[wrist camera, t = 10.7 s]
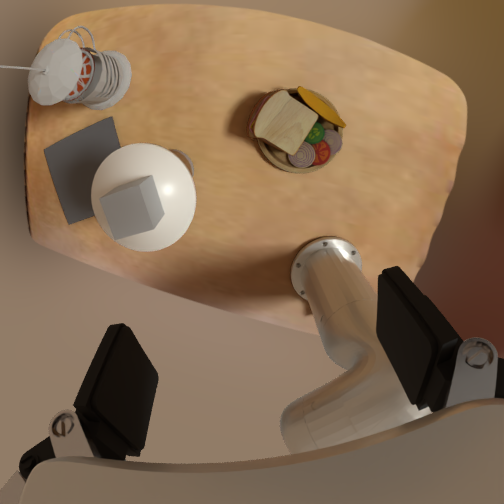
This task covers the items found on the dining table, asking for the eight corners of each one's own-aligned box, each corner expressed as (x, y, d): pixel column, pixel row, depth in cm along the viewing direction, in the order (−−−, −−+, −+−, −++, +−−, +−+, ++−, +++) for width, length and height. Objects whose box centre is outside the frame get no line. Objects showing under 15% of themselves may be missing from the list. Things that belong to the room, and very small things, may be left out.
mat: (137, 201, 42) (136, 202, 42) (70, 223, 43) (68, 224, 42) (112, 116, 36) (110, 116, 36) (45, 149, 37) (43, 149, 36)
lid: (209, 234, 29) (204, 256, 25) (116, 257, 30) (99, 280, 25) (179, 128, 24) (167, 130, 20) (81, 164, 25) (57, 174, 21)
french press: (75, 114, 35) (-46, 134, 13) (79, 47, 30) (-34, 21, 8) (130, 106, 36) (18, 108, 13) (134, 35, 31) (39, -24, 8)
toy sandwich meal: (304, 188, 43) (311, 196, 39) (232, 132, 39) (231, 134, 35) (355, 128, 39) (368, 130, 35) (287, 68, 35) (293, 62, 30)
